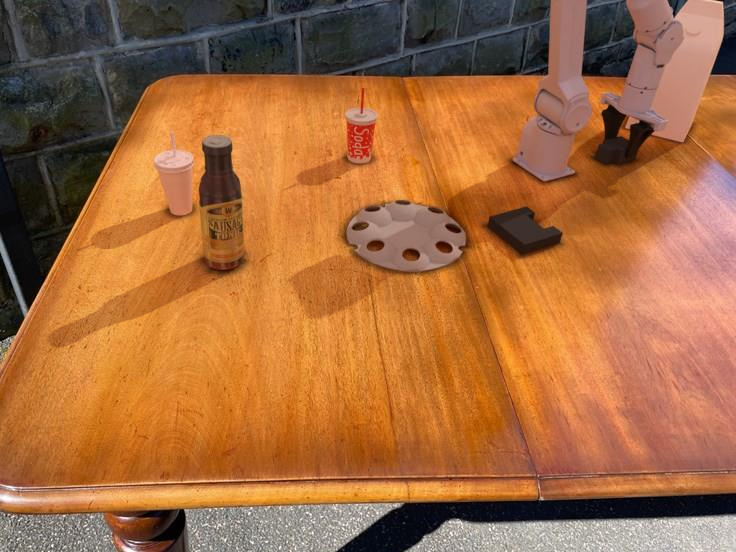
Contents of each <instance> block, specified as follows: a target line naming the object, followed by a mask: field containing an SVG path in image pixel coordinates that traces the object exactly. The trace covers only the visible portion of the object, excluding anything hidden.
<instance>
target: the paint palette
mask: <svg viewBox="0 0 736 552" xmlns="http://www.w3.org/2000/svg"><path fill="white" fill-rule="evenodd" d="M363 224H364V225H365V224H367V225H368V227H366V228H363V229H361V230H356V229H355V230H354V229H353V228H354V227H358V226H362V225H363ZM447 227H449V228H454V229H457V230H459V231H460V232H458V233H456V232H453V231H451V230H449V229H448V228H447ZM346 239H347V240H346V241H347V242H348V244H349V245H352V246H356V247H357V249H354V252H355V253H356V254H357V255H358V256H359V257H361V258H362V259H364V260H366V261H367V262H369V263H371V264H373V265H376V266H378V267H382V268H385V269H389V270H392V271H399V272H405V273H406V272H407V273H411V272H412V273H418V272H419V273H420V272H427V271H428V272H429V271H433V270H437V269H441V268H443V267H446V266H449V265H450V264H451V265H452V263H454V262H455V261H456V260H458V259H459V258H460V256H462V254H463V252H464V251H463V250H461V249H459V248H460V247H465V246H466V242H467V234H466V231H465V230H464V229H463V228H462V227H461V226H460V224H459V223H458V222H456V221H455V219H453V218H452V217H450V216H449V215H448V214H447V212H446V211H445V210H443V209H442V208H440V207H438V206H434V205H429V206H425V205H420V204H415V203H414V202H412V201H410V200H407V199H396V200H393V201H391V202H390V203H385V204H384V207H383V206H380V205H368V206H366V207H364V208H362V209H361V210H359V211H358V213H357V214H356V215H355V216H354V217H353V218H352V219H351V220H350V221H349V224H348V226H347V228H346ZM374 241H377V242H379V243H383V247H382V248H381V249H380V250H377V251H371V250H369V249H368V245H369V244H370V243H372V242H374ZM440 242H444V243H447V244H449V245H450V247H451V249H452V251H450V252H448V253H446V252H442V251H440V250H439V249H438V248H437V246H436V245H437V244H438V243H440ZM407 250H408V251H409V250H410V251H417V252H418V253H419V258H418V259H417V260H414V261H409V260H407V259H405V257H403V253H404V252H405V251H407Z"/></svg>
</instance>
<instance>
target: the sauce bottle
mask: <svg viewBox="0 0 736 552" xmlns="http://www.w3.org/2000/svg"><path fill="white" fill-rule="evenodd" d="M233 149H234V148H233V141H232V139H231V138H230V137H229V136H226V135H223V134H211V135H207V136H205V137H204V138H203V139H202V141H201V151H202V152H203V155H204V172H203V174H202V176H201V177H200V181H199V185H198V195H199V200H198V206H199V219H200V230H201V231H200V232H201V244H202V253H203V256H204V262H205V264H206V265H207V267H208V268H211V269H213V270H218V271H228V270H233V269H235V268H237V267H239V266H240V265H241V264H242V263H243V260H244V254H245V234H244V233H245V231H244V230H245V229H244V228H245V227H244V204H243V194H242V186H241V180H240V178H239V176H238V175H237V174H236V173H235V170H234V165H233V159H232V157H233V156H232V153H233Z"/></svg>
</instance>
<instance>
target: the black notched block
mask: <svg viewBox="0 0 736 552" xmlns="http://www.w3.org/2000/svg"><path fill="white" fill-rule="evenodd" d="M628 142H629V138H628V139H627V138H626V137H624V136H622V135H619V136H617V137H615V138H611V139H606V140H604V139H602V143H600V144H598V146H597V149H596V152H595V156H594V159H595V160H597V161H598V162H600V163H602V164H603V165H608V164H611V163H614V164H616V165H621V164H624V163H629V162H631V161H635V160H636V158H637V155H638V153H639V150H640V148H639V149H638V151H637V152H636V154H635V156H633V157H629V158H626V157H625V152H626V148H627V145H628Z"/></svg>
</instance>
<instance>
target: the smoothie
mask: <svg viewBox="0 0 736 552" xmlns="http://www.w3.org/2000/svg"><path fill="white" fill-rule="evenodd" d="M169 134H170V142H171V147H172V149H170V150H165V151H161V152H160V153H158V154H156V156H155V157H154V158H153V167H154V169H155V170H156V171H157V173H158V177H159V180H160V183H161V186H162V189H163V193H164V195H165V199H166V202H167V206H168V208H169V211H170V214H172V215H175V216H186V215H188V214H190V213H191V212H192V211H193V167H194V166H195V160H194V156H193V154H192V153H191V152H189V151H187V150H182V149H177V145H176V138H175V132H174V131H173V130H171V131H169Z"/></svg>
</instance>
